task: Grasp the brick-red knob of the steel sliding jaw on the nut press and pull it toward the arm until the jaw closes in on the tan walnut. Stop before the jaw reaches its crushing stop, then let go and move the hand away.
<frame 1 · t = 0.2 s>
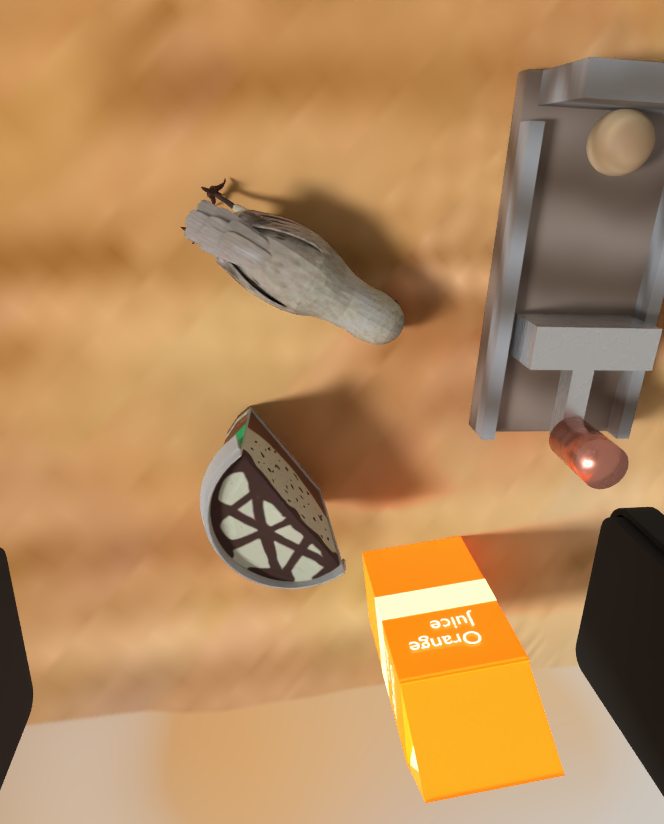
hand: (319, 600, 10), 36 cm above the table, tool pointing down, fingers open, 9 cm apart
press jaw: (585, 398, 44), point 6 cm above the table, slide at 0.0 cm
decorative bird: (298, 265, 44), on the table
nut press: (568, 268, 46), on the table
orange juice: (413, 578, 56), on the table
food container: (255, 470, 50), on the table
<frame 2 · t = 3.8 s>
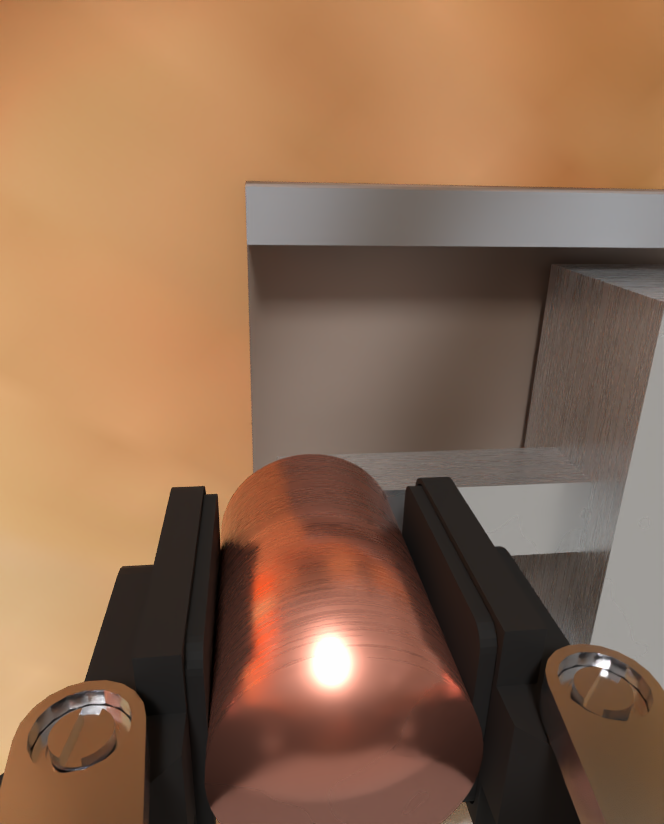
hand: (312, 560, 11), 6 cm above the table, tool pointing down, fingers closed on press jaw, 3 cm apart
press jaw: (504, 552, 11), point 6 cm above the table, slide at 0.0 cm, touching gripper
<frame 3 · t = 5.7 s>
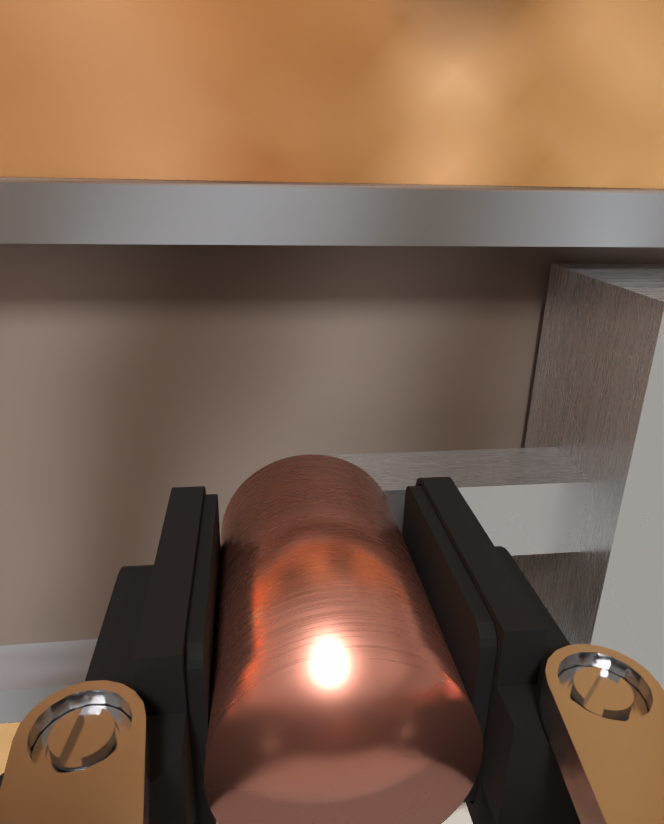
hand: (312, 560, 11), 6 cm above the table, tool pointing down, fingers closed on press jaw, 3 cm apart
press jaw: (504, 552, 11), point 6 cm above the table, slide at 6.9 cm, touching gripper
nut press: (463, 424, 17), on the table
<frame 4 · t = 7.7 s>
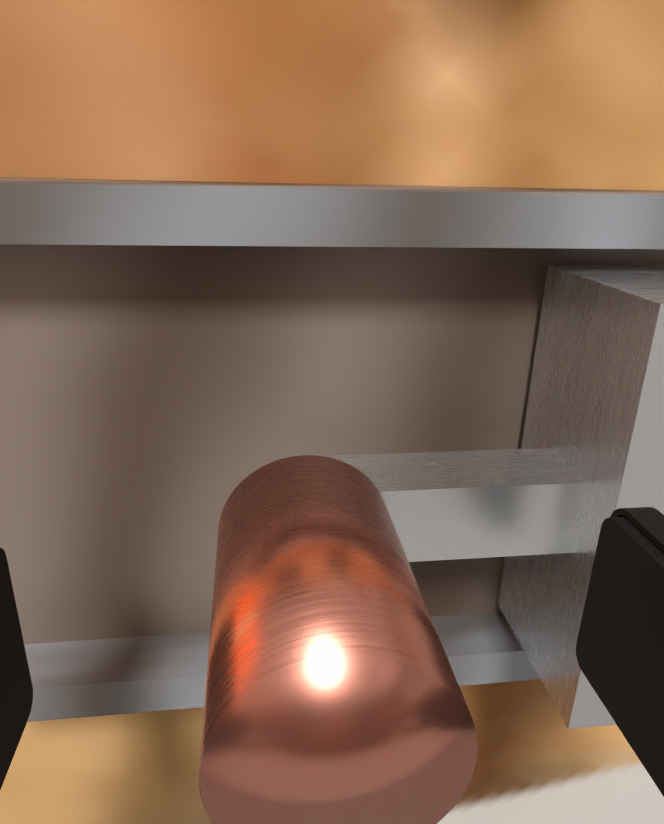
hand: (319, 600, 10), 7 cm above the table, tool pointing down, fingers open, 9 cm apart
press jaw: (500, 553, 11), point 6 cm above the table, slide at 7.0 cm
nut press: (458, 425, 17), on the table
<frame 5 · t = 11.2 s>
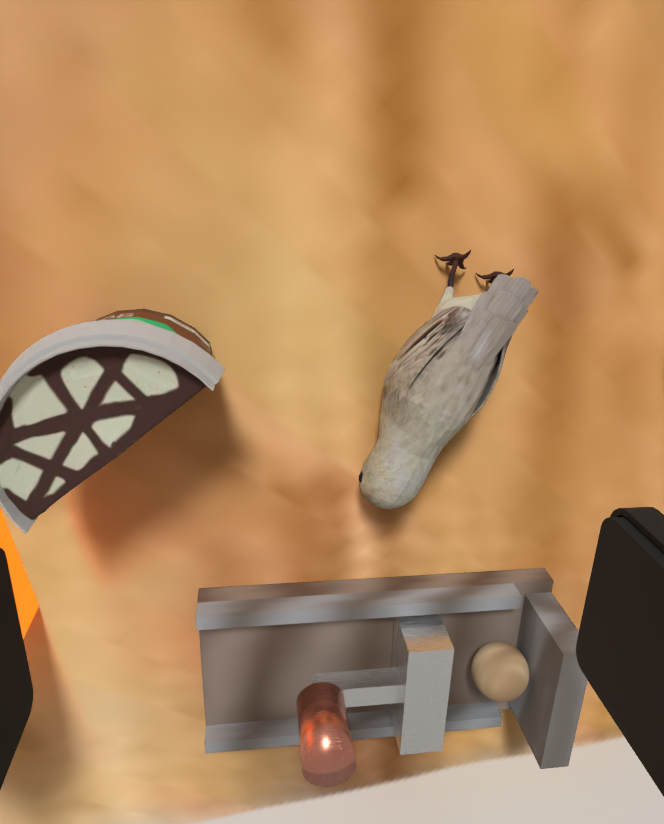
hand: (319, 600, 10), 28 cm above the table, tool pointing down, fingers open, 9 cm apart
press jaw: (373, 708, 41), point 6 cm above the table, slide at 7.0 cm
decorative bird: (416, 372, 40), on the table
nut press: (373, 644, 47), on the table
food container: (113, 349, 37), on the table
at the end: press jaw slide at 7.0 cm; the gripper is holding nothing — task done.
